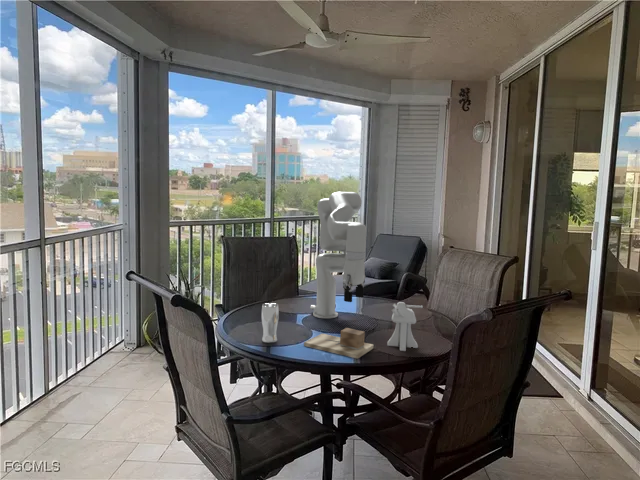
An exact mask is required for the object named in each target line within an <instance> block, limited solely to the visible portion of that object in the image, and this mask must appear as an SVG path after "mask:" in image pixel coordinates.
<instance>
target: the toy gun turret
mask: <svg viewBox="0 0 640 480" xmlns="http://www.w3.org/2000/svg"><path fill="white" fill-rule="evenodd" d="M392 307H394V308H392V309H391V310H390V311H392V316H391V321H392V322H393V323H395V329H394V330H393V333H392V334H391V336H390V338H389V340H387V342H386V343H387V345H386V346H388V347H389V346H390V347H399V351H401V352H406V350H407V348H411V347H413V348H415V349H418V348H419V345H418V344H419V343H418V342H417V341H416V340H415V337H414V336H413V333H412V328H411V327H412V325H415V324H416V323H417V317H416V315H415V311H413V309H412V308H420V309H423V307H424V306H423V305H414V304H413V305H412V304H406V303H405V302H403V301H399V302H397V304H396V303H395V302H394V303H392Z"/></svg>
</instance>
